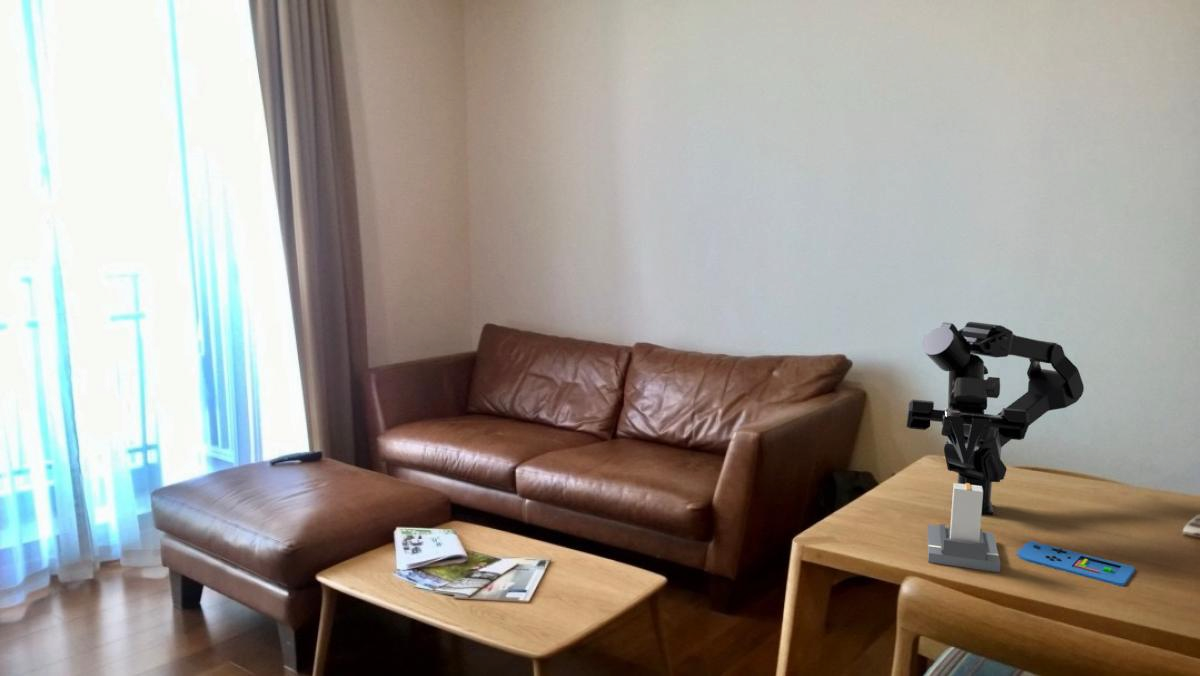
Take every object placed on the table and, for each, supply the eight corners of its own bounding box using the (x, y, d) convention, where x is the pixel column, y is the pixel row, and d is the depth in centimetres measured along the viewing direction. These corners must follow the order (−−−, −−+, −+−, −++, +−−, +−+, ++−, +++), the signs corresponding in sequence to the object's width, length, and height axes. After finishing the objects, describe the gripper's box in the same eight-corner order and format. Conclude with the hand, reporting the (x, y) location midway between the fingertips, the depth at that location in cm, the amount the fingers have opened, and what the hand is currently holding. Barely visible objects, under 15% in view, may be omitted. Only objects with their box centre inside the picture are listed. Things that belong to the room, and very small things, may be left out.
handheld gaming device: (1029, 538, 136) (1136, 565, 126) (1029, 545, 136) (1135, 572, 126) (1013, 553, 130) (1124, 582, 120) (1012, 559, 130) (1123, 589, 120)
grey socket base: (927, 533, 140) (928, 510, 140) (992, 541, 137) (994, 518, 136) (928, 562, 128) (929, 538, 128) (999, 572, 125) (1001, 547, 124)
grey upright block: (949, 544, 131) (953, 481, 129) (976, 547, 129) (981, 484, 128) (949, 551, 128) (954, 487, 127) (978, 555, 127) (983, 490, 125)
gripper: (913, 353, 143) (909, 431, 134) (1034, 363, 137) (1038, 445, 128) (908, 389, 151) (904, 464, 143) (1021, 399, 145) (1024, 479, 137)
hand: (965, 463), depth 137 cm, fingers closed
